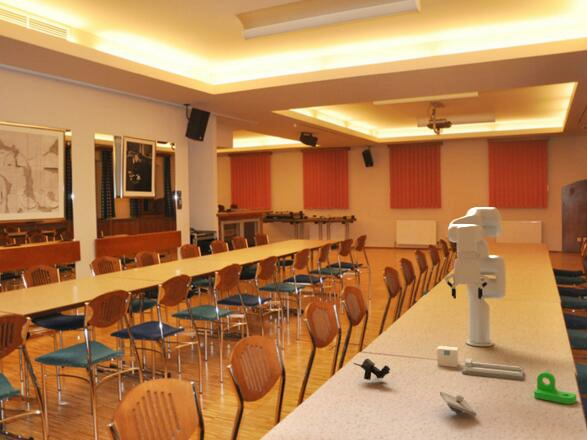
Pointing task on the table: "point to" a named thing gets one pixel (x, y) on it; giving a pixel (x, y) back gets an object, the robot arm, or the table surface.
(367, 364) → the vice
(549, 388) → the mechanical part
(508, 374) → the rail plate
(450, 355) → the block
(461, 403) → the light switch
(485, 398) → the table surface
